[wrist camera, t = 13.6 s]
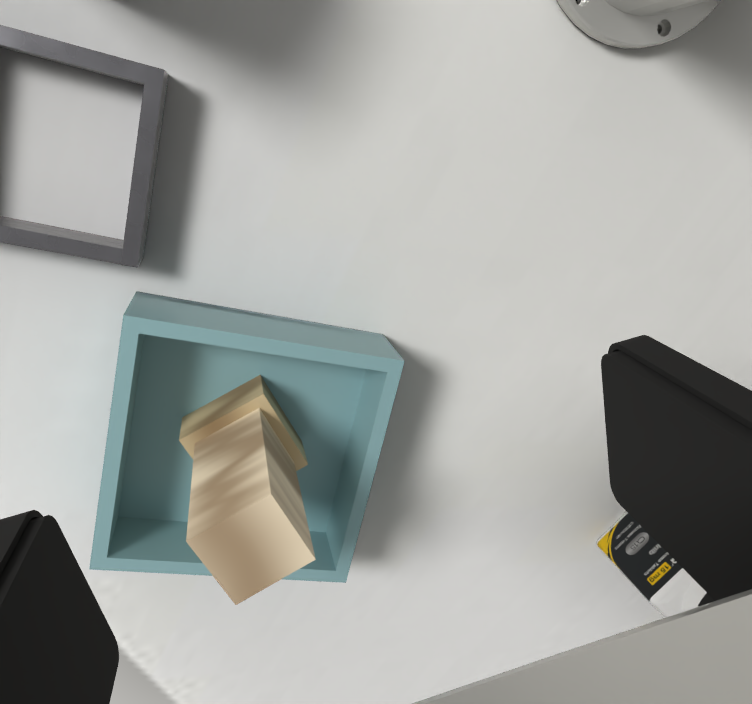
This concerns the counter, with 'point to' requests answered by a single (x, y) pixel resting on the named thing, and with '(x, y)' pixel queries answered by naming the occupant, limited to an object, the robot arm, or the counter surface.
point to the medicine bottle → (651, 568)
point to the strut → (246, 490)
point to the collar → (144, 161)
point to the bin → (210, 381)
